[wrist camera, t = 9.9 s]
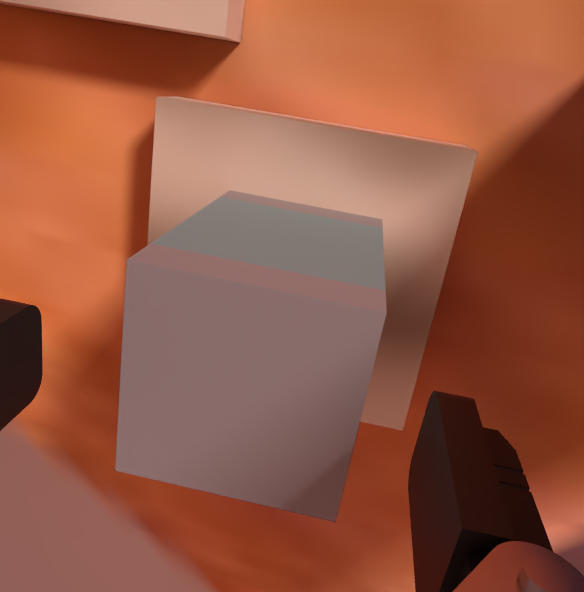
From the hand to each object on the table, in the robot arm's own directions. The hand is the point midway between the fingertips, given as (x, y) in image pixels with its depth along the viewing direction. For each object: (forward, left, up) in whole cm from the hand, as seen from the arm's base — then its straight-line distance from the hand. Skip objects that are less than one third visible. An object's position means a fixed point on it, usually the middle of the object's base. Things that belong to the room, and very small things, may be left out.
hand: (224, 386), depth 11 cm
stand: (0, 0, -10) cm, 10 cm away
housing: (0, 0, -8) cm, 8 cm away
